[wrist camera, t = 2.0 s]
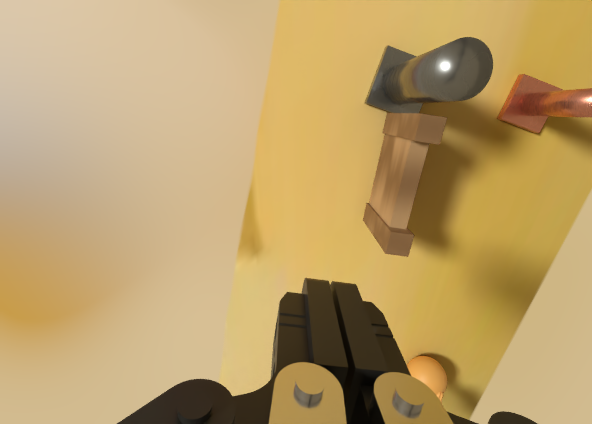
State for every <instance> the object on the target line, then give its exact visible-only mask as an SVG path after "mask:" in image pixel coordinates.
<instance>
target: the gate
mask: <svg viewBox="0 0 592 424" xmlns="http://www.w3.org/2000/svg"><path fill="white" fill-rule="evenodd" d="M446 120H447V118H446V117H440V116H434V115H427V114H420V113H387V116H386V120H385V125H384V129H383V133H384V134H385V136H384V140H383V144H382V149H381V153H380V157H379V162H378V166H377V171H376V175H375V179H374V184H373V188H372V193H371V197H370V201H369V203H367V205H366V209H365V213H364V218H363V221H364V222H365V224H366V225H367V227H368V228H369V230H370V231H371V233H372V234H373V236H374V237H375V239H376V240H377V242H378V243H379V245H380V246H381V248H382V249H383V251H384V252H385V254H391V255H399V256H407V257H408V256H409V252H410V249H411V245H412V241H413V238H414V234H413V233H412V232H411V231H410V230H409V229H408V228H407V224H408V221H409V217H410V213H411V210H412V206H413V202H414V199H415V195H416V191H417V188H418V184H419V180H420V176H421V173H422V169H423V165H424V162H425V158H426V154H427V151H428V147H429V143H432V144H439V145H440V142H441V138H442V135H443V131H444V127H445V124H446Z"/></svg>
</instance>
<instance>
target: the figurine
mask: <svg viewBox="0 0 592 424" xmlns="http://www.w3.org/2000/svg"><path fill="white" fill-rule="evenodd" d="M407 367H408V370H409V372H410V374H411V376H412V377H414V378H416V379H418V380H420V381H421V382H423V383H424V384H425V385H427V386H428V387H429V388H430V389H431V390H432V391H433V392H434V393H435V394H436V395H437V397H438V398H439V400H440V401H441V403H442V398H443V393H444V392H445V390H446V387H447V376H446V373H445V370H444V369H443V367H442V366H441V365H440V363H439V362H437V361H436V360H435V359H433V358H431V357H428V356H418V357H415V358H413V359H412V360H411V361H410V362H409V363H408V365H407Z"/></svg>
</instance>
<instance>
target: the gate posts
mask: <svg viewBox="0 0 592 424" xmlns="http://www.w3.org/2000/svg"><path fill="white" fill-rule="evenodd" d="M492 69H493V59H492V55H491V52H490V50H489V48H488V47H487V45H486V44H485V43H483V42H482V41H481V40H479V39H476V38H472V37H465V38H460V39H457V40H455V41H452V42H450V43H448V44H445V45H443V46H441V47H439V48H436V49H434V50H432V51H429V52H427V53H425V54H422V55H420V56H418V57H416V56H414V55H411V54H408V53H406V52H403V51H401V50H398V49H396V48H393V47H390V46H386V47H385V50H384V53H383V55H382V58H381V61H380V63H379V66H378V69H377V71H376V74H375V77H374V79H373V82H372V85H371V87H370V90H369V92H368V95H367V98H366V100H365V103H366V104H368V105H371V106H374V107H377V108H379V109H382V110H385V111H388V112H390V113H419V112H420V109H421V107H422V105H423V103H432V102H448V101H463V100H467V99H470V98H472V97H474V96H476V95H477V94H478V93H480V92H481V91H482V90H483V89H484V87H485V86H486V85H487V83H488V81H489V79H490V77H491V74H492ZM562 90H563V89H560V88H558V87H555V86H553V85H550V84H548V83H545V82H543V81H540V80H538V79H535V78H533V77H530V76H528V75H525V74H522V75H519V76H518V78H517V80H516V82H515V84H514V86H513V88H512V90H511V92H510V94H509V96H508V98H507V100H506V102H505V104H504V106H503V108H502V110H501V112H500V114H499V116H498V118H497V119H499V120H501V121H504V122H507V123H509V124H512V125H515V126H517V127H520V128H523V129H525V130H528V131H531V132H533V133H540V131H541V129H542V127H543V125H544V123H545V122H546V120H547V118H548V116H554V117H592V88H590V89H576V90H563V91H562Z"/></svg>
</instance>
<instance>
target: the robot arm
mask: <svg viewBox="0 0 592 424" xmlns="http://www.w3.org/2000/svg"><path fill="white" fill-rule="evenodd" d="M117 424H478V423H475V422H472V421H470V420H467V419H464V418H462V417H459V416H456V415H454V414H452V413H449V412H447V411H446V410H445V408H444V407H443V405H442V403H441V401H440V400H439V398H438V397H437V395H436V394H435V393H434V392H433V391H432V390H431V389H430V388H429V387H428V386H427V385H425V384H424V383H423V382H421V381H420V380H418V379H416V378H414V377H412V376H411V374H410V372H409V370H408V367H407V365H406V363H405V361H404V359H403V356H402V354H401V352H400V350H399V348H398V345H397V343H396V341H395V339H394V338H393V335H392V332H391V330H390V328H388V324H387V321H386V319H385V317H384V315H383V313H382V312H381V311H380V310H379V309H378V308H377V307H376V306H375V305H374V304H373V303H372V302H366V301H362V298H361V296H360V293H359V290H358V288H357V285H356V284H350V283H342V282H334V281H332V282H331V285H330V284H329V281H326V280H318V279H310V278H305V280H304V284H303V289H302V294H299V293H291V292H287V293H286V294H285V295H284V297H283V298H282V299H281V300H280V304H279V310H278V317H277V323H276V329H275V336H274V342H273V355H272V370H271V380H270V381H269V382H268V383H267V384H266V385H265V386H263V387H262V388H260V389H258V390H256V391H254V392H251V393H247V394H243V395H238V396H233V397H232V395H231V393H230V392H229V391H228V390H227V389H226V388H225V387H224V386H223V385H221V384H219V383H217V382H215V381H212V380H207V379H194V380H188V381H185V382H182V383H180V384H177V385H176V386H174V387H172V388H171V389H169V390H167V391H166V392H164V393H163V394H161V395H160V396H158V397H157V398H155V399H154V400H152V401H151V402H149V403H148V404H146V405H145V406H143V407H142V408H140V409H139V410H137V411H136V412H134V413H133V414H131V415H130V416H128V417H126V418H125V419H123V420H122V421H121V422H119V423H117ZM488 424H537V423H535V422H534V421H532V420H530V419H528V418H526V417H524V416H521V415H518V414H515V413H511V412H497V413H495V414H493V415H492V416H491V418H490V420H489V422H488Z"/></svg>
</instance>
